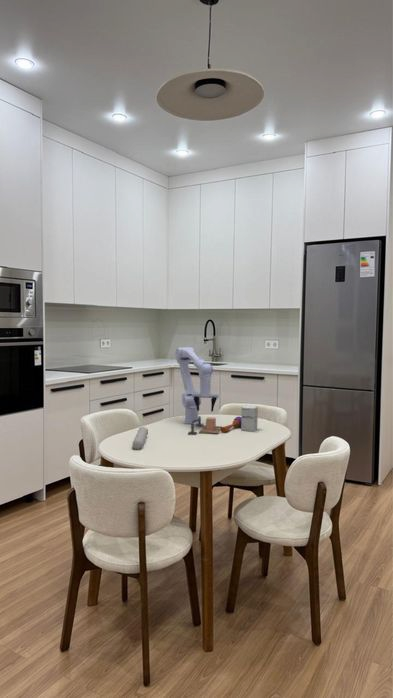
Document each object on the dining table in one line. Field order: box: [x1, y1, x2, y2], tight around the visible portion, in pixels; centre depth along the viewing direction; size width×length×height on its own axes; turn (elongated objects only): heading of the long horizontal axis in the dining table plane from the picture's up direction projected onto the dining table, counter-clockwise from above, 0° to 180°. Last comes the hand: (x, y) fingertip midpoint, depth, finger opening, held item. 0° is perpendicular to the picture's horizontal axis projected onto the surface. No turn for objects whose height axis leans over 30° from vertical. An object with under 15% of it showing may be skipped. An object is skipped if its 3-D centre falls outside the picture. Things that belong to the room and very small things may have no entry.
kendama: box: [220, 416, 241, 434], centre depth 256 cm, size 6×6×20 cm
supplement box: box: [240, 404, 259, 432], centre depth 254 cm, size 7×7×13 cm
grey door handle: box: [187, 415, 205, 436], centre depth 254 cm, size 24×4×5 cm, turn 169°
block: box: [205, 417, 217, 430], centre depth 252 cm, size 4×4×6 cm
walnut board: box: [198, 425, 223, 435], centre depth 253 cm, size 16×10×1 cm, turn 169°
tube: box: [132, 426, 149, 450], centre depth 226 cm, size 5×5×25 cm
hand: (205, 410), depth 258 cm, fingers open, 7 cm apart
